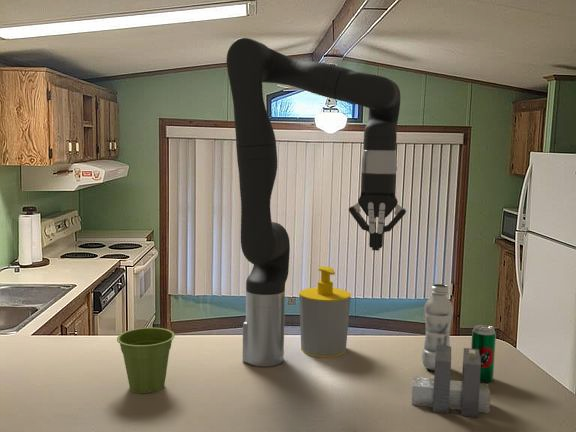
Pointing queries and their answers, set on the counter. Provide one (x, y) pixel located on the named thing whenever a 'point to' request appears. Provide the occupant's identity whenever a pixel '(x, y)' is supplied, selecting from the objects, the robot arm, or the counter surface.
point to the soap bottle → (324, 318)
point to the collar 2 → (471, 382)
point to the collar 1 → (442, 379)
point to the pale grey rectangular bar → (425, 392)
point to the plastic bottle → (436, 323)
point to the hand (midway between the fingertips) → (376, 249)
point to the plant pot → (146, 357)
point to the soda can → (485, 349)
